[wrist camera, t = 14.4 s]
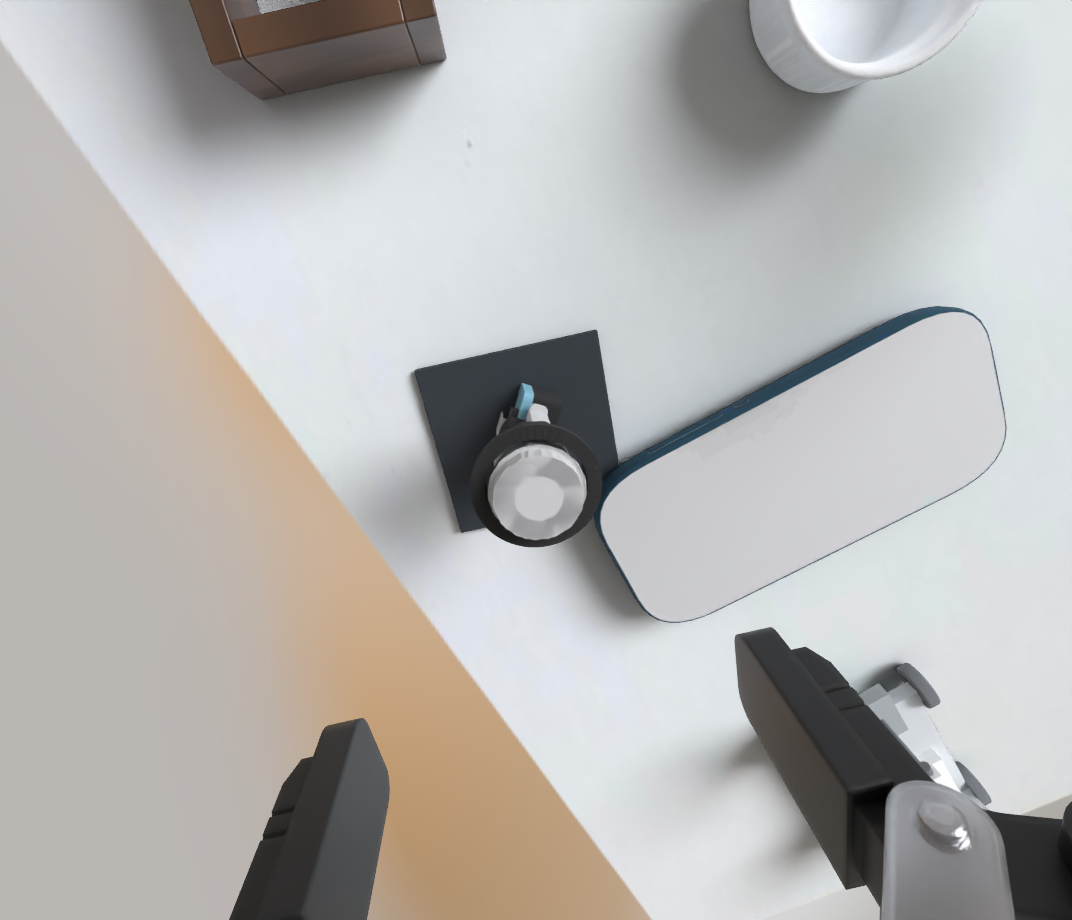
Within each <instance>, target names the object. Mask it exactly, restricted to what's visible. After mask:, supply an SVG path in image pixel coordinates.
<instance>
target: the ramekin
mask: <svg viewBox="0 0 1072 920" xmlns="http://www.w3.org/2000/svg"><path fill="white" fill-rule="evenodd" d="M981 2H982V0H749V11H750V21H751V26H752V31H753V35H754V38H755V41H756V44H757V47H758V49H759V51H760V53H761V55H762V57H763V58H764V60H765V61H766V63H767V64H768V66H769V67H770V69H771V70H772V71H773V72H774V73H775V74H776V75H777V76H778V77H779V78H781V79H782V80H783V81H785V82H786V83H787V84H789V85H791V86H793V87H795V88H797V89H799V90H802V91H806V92H812V93H830V92H835V91H839V90H844V89H847V88H850V87H853V86H856V85H858V84H861V83H864V82H867V81H869V80H878V79H883V78H887V77H891V76H895V75H898V74H901V73H903V72H906V71H908V70H911V69H913V68H915V67H917V66H918V65H920V64H922V63H924V62H925V61H927V60H929V59H930V58H932V57H933V56H935V55H936V54H937V53H938V52H940V51H941V50H942V49H943V48H944V47H945V46H947V45H948V44H949V43H950V42H951V41H952V40H953V39H954V38H955V37H956V36H957V35H958V33H959V32H960V31H961V30H962V29H963V28H964V27H965V26H966V24H967V22H968V21H969V20H970V19H971V17H972V16H973V15H974V13H975V12H976V10H977V9H978V7H979V6H980V4H981Z"/></svg>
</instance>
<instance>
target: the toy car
mask: <svg viewBox="0 0 1072 920" xmlns="http://www.w3.org/2000/svg"><path fill="white" fill-rule="evenodd" d="M896 670H897V673H898V675H899V676H900V678H901V679H902V681H903V682H904V684H902V685H900V686H898V687H897V688H895V689H893V690H891V691H889V692H886V691H885V690H884V688H883V687H882V686H881V685H880V684H879V683H878V684H876V685H875V686H873V687H871V688H869V689H867V690H865V691H864V692H862V693H860V694H858V695H859V696H860V697H861V698H862V699H863V700H864V704H865V705H868V706H869V707H870V709H871V710H872V711H873V712H874V713H875V714H876V716H877V717H878V718H879V719H880V720H881V721H882V723H883V724H884V725H885V726H886V727H887V728H888V729H889V731H890V732H891V733H892V734H893V735H894V736H895V738H896V739H897V740H898V741H899V742H900V743H901V745H902V746H903V747H904V748H905V749H906V750H907V752H908V753H909V754H910V755H911V756H912V757H913V758H914V760H915V761H916V762H917V763H918V764H919V765H920V767H921V768H922V769H923V770H924V771H925V772H926V773H927V774H928V776H929V777H930V778H931V779H932V780H933V781H935V782H936V783H939V784H942V785H944V786H947V787H950V788H952V789H954V790H956V791H958V792H960V793H962V794H963V795H965V796H967V797H968V798H970V799H971V800H972V801H974V802H975V803H976V804H978V805H979V806H980V807H981V808H982V809H985V810H988V809H987V808H986V806H985V805H987V804H989V803H991V798H990V796H989V795H988V793H987V792H986V790H985V789H984V788H983V786H982V785H981V784H980V782H979V781H978V780H977V779H976V778H975V777H974V775H973V774H972V773H971V772H970V771H969V770H968V769H967V768H966V767H965V766H964V765H963V764H962V763H960V762H955V761H954V760H953V758H952V756H951V754H950V752H949V750H948V748H947V746H946V744H945V743H944V741H943V739H942V737H941V735H940V733H939V731H938V729H937V728H936V726H935V724H934V722H933V720H932V718H931V716H930V714H929V712H928V711H927V709H926V707H927V708H933V707H935V706H936V705H938V704H940V699H939V697H938V695H937V693H936V692H935V690H934V689H933V688H932V686H931V685H930V684H929V683H928V681H927V680H926V679H925V678H924V677H923V676H922V675H921V674H920V673H919V672H918V671H917V670H916V669H915V668H914V667H913V666H912V665H910V664H909V663H904V664H902V665H901V666H899V667H897V669H896ZM925 706H926V707H925Z"/></svg>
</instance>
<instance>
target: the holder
mask: <svg viewBox="0 0 1072 920" xmlns="http://www.w3.org/2000/svg"><path fill="white" fill-rule="evenodd" d="M189 1H190V4H191V7H192V10H193V13H194V15H195V18H196V21H197V24H198V27H199V29H200V32H201V35H202V38H203V41H204V43H205V46H206V49H207V52H208V55H209V58H210V60H211V63H212V65H213V66H215V67H216V68H217V69H219V70H220V71H222V72H223V73H224V74H226V75H227V76H228V77H230V78H231V79H233V80H234V81H235V82H237V83H238V84H240V85H241V86H242V87H244V88H245V89H247V90H248V91H249V92H251V93H252V94H254V95H255V96H256V97H258V98H259V99H261V100H264V99H269V98H273V97H278V96H283V95H285V94H286V93H287V94H291V93H296V92H300V91H305V90H309V89H314V88H318V87H323V86H327V85H332V84H336V83H341V82H345V81H350V80H354V79H359V78H363V77H368V76H372V75H377V74H381V73H386V72H390V71H395V70H399V69H404V68H408V67H413V66H417V65H420V63H421V65H423V64H428V63H432V62H437V61H441V60H446V53H445V49H444V44H443V40H442V35H441V31H440V26H439V22H438V17H437V13H436V8H435V4H434V0H323V1H318V2H314V3H309V4H305V5H300V6H295V7H291V8H286V9H282V10H277V11H273V12H268V13H264V14H261V13H260V10H259V7H258V4H257V1H256V0H189Z"/></svg>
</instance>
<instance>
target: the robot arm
mask: <svg viewBox="0 0 1072 920" xmlns="http://www.w3.org/2000/svg"><path fill="white" fill-rule="evenodd" d="M735 652H736V664H737V676H738V688H739V694H740V698H741V702H742V705H743V708H744V710H745V713H746V715H747V717H748V719H749V721H750V723H751V725H752V726H753V728H754V730H755V732H756V733H757V735H758V737H759V739H760V740H761V742H762V744H763V746H764V747H765V749H766V751H767V753H768V754H769V756H770V758H771V760H772V761H773V763H774V765H775V767H776V768H777V770H778V772H779V774H780V775H781V777H782V779H783V781H784V782H785V784H786V786H787V788H788V789H789V791H790V793H791V795H792V796H793V798H794V800H795V802H796V803H797V805H798V807H799V808H800V810H801V812H802V814H803V815H804V817H805V819H806V821H807V822H808V824H809V826H810V828H811V829H812V831H813V833H814V835H815V836H816V838H817V840H818V842H819V843H820V845H821V847H822V849H823V850H824V852H825V854H826V856H827V857H828V859H829V861H830V863H831V864H832V866H833V868H834V870H835V871H836V873H837V875H838V877H839V878H840V880H841V882H842V884H843V885H844V887H845V889H846V890H847V889H851V888H856V887H860V886H865V885H867V887H868V888H869V890H870V892H871V893H872V895H873V896H874V898H875V900H876V902H877V903H878V905H879V907H880V920H1072V802H1071V803H1070V804H1069V805H1068V806H1067V807H1066V809H1065V812H1064V816H1063V820H1062V819H1052V818H1042V817H1033V816H1023V815H1013V814H1004V813H998V812H993V811H989V810H985V809H982V808H981V807H980V806H979V805H978V804H976V803H975V802H974V801H972V800H971V799H970V798H968V797H967V796H965V795H963V794H962V793H960V792H958V791H956V790H954V789H952V788H950V787H947V786H944V785H942V784H939V783H936V782H935V781H933V780H932V779H931V778H930V777H929V776H928V774H927V773H926V772H925V771H924V770H923V769H922V768H921V767H920V765H919V764H918V763H917V762H916V761H915V760H914V758H913V757H912V756H911V755H910V754H909V753H908V752H907V750H906V749H905V748H904V747H903V746H902V745H901V743H900V742H899V741H898V740H897V739H896V738H895V736H894V735H893V734H892V733H891V732H890V731H889V729H888V728H887V727H886V726H885V725H884V724H883V723H882V721H881V720H880V719H879V718H878V717H877V716H876V714H875V713H874V712H873V711H872V710H871V709H870V707H869V706H868V705H865V704H864V700H863V699H862V698H861V697H860V696H859V695H858V693H857V692H856V691H855V690H854V689H853V688H852V687H851V688H850V686H849V683H848V682H847V681H846V680H845V678H844V677H843V676H842V675H841V674H840V673H839V671H838V670H837V669H836V668H835V667H834V666H833V664H832V663H831V662H829V661H828V660H826V659H824V658H823V657H821V656H820V655H818V654H816V653H815V652H813V651H812V650H810V649H808V648H807V647H802V648H798V649H794V650H791V649H790V648H789V647H788V645H787V644H786V643H785V642H784V640H783V639H782V638H781V637H780V635H779V634H778V633H777V632H776V630H774V629H773V628H771V627H769V628H764V629H760V630H755V631H751V632H747V633H742V634H738V635H736V636H735ZM389 791H390V788H389V777H388V771H387V768H386V765H385V763H384V761H383V758H382V756H381V754H380V751H379V749H378V746H377V744H376V742H375V740H374V737H373V735H372V733H371V730H370V728H369V725H368V723H367V722H366V720H365V719H363V718H360V719H355V720H351V721H346V722H342V723H337V724H333V725H329V726H326V727H325V728H324V730H323V732H322V734H321V736H320V739H319V742H318V745H317V747H316V750H315V753H314V756H313V757H309V758H305V759H302V760H301V761H300V762H299V764H298V765H297V766H296V768H295V769H294V770H293V772H292V773H291V774H290V776H289V777H288V778H287V780H286V781H285V782H284V784H283V785H282V787H281V790H280V793H279V795H278V798H277V800H276V803H275V805H274V808H273V810H272V817H270V818H269V820H268V823H267V826H266V828H265V831H264V833H263V840H262V841H260V843H259V846H258V849H257V851H256V853H255V856H254V858H253V861H252V863H251V866H250V868H249V871H248V874H247V876H246V878H245V881H244V884H243V886H242V889H241V891H240V894H239V896H238V899H237V901H236V904H235V906H234V909H233V911H232V914H231V916H230V919H229V920H367V916H368V910H369V905H370V900H371V895H372V889H373V884H374V878H375V873H376V867H377V862H378V856H379V851H380V846H381V841H382V835H383V830H384V824H385V819H386V814H387V808H388V802H389Z"/></svg>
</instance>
